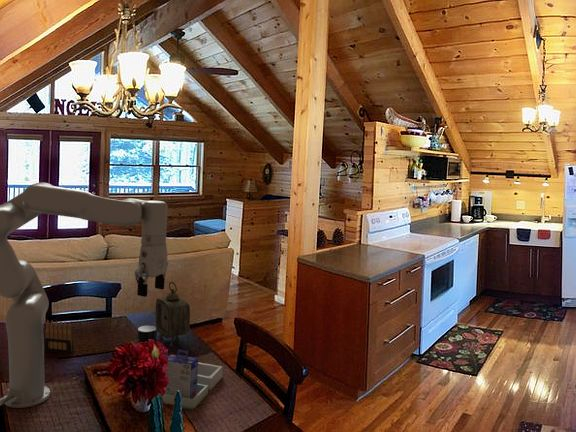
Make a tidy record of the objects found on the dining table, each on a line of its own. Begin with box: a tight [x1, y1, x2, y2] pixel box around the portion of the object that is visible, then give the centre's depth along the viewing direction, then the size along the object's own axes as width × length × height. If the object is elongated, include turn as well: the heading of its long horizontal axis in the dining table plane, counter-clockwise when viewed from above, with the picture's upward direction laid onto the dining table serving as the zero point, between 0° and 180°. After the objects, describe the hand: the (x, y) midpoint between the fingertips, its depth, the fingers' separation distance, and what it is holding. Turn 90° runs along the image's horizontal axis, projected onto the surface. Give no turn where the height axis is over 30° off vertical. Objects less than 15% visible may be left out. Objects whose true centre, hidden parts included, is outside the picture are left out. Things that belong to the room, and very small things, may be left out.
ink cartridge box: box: [165, 348, 199, 399], centre depth 154 cm, size 10×6×14 cm, turn 76°
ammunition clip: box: [44, 319, 74, 354], centre depth 184 cm, size 11×2×12 cm, turn 83°
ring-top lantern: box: [155, 281, 191, 348], centre depth 198 cm, size 14×9×25 cm, turn 37°
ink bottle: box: [134, 324, 160, 344], centre depth 180 cm, size 10×9×12 cm
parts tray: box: [162, 383, 209, 411], centre depth 154 cm, size 10×14×3 cm
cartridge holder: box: [197, 361, 224, 391], centre depth 167 cm, size 10×14×4 cm
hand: (151, 292), depth 156 cm, fingers open, 9 cm apart
